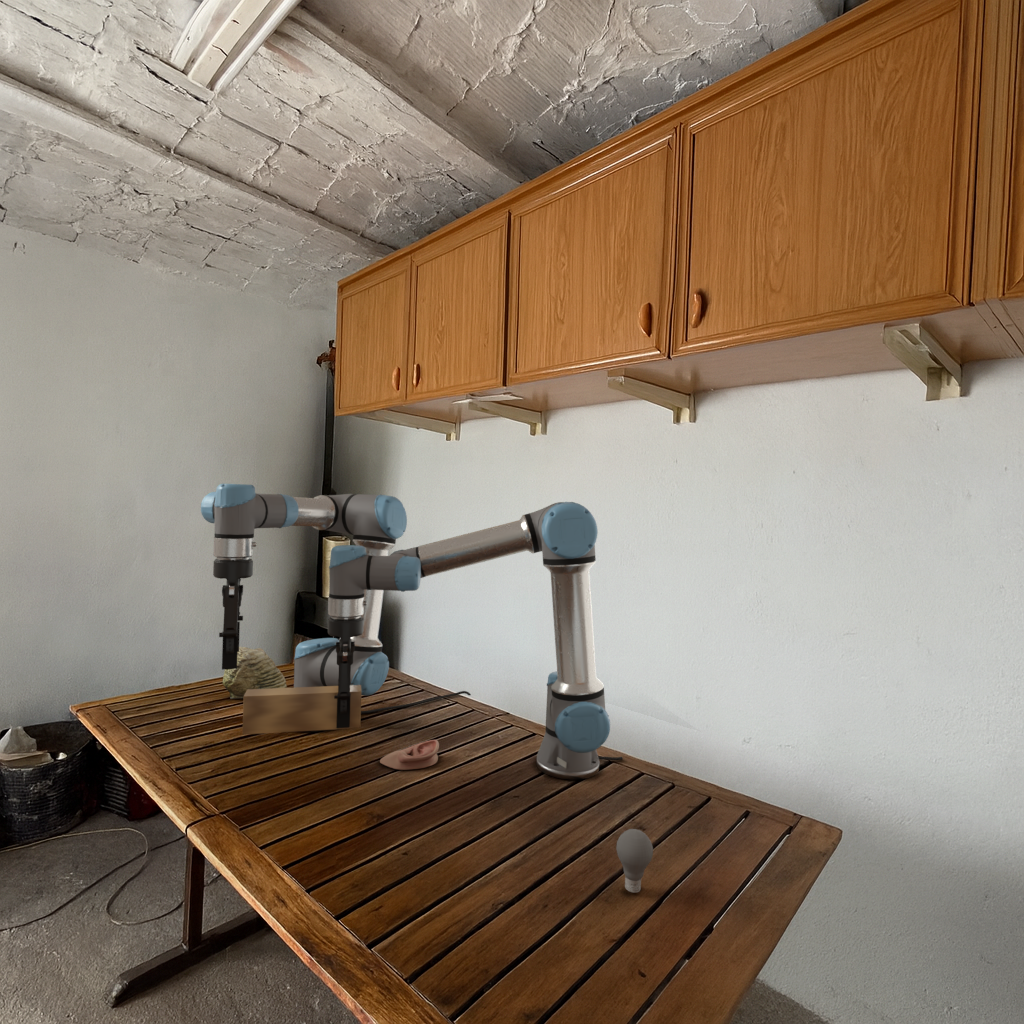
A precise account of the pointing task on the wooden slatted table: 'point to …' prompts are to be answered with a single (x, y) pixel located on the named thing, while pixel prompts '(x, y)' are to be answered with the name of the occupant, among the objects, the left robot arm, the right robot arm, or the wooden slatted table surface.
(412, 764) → the anatomical model
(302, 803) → the wooden slatted table surface
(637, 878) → the light bulb
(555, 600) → the right robot arm
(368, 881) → the wooden slatted table surface
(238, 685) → the fossil
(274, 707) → the bar
